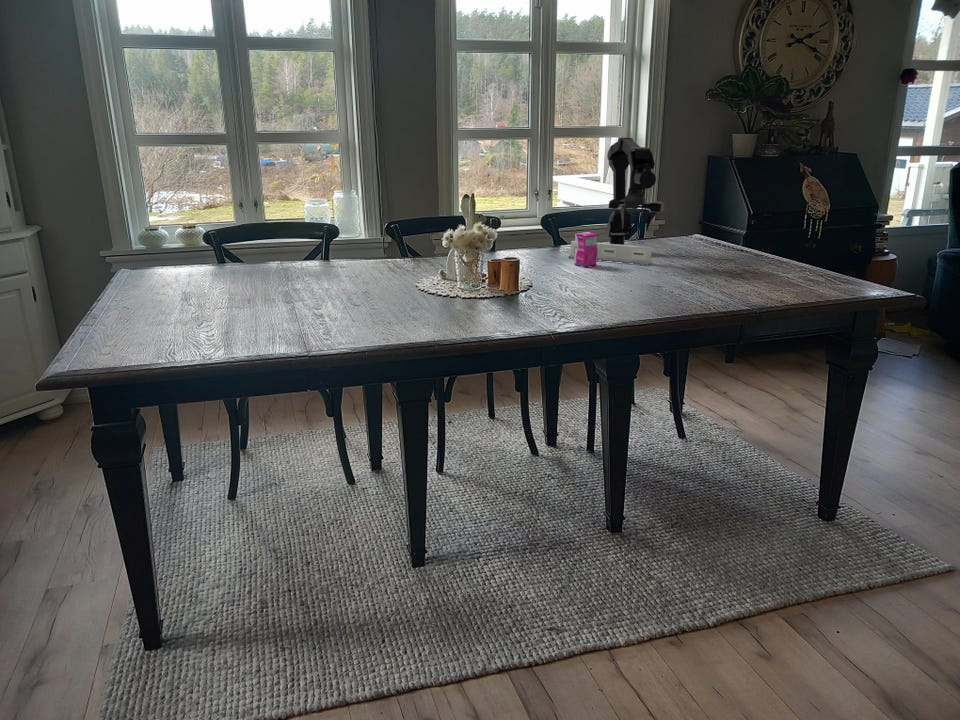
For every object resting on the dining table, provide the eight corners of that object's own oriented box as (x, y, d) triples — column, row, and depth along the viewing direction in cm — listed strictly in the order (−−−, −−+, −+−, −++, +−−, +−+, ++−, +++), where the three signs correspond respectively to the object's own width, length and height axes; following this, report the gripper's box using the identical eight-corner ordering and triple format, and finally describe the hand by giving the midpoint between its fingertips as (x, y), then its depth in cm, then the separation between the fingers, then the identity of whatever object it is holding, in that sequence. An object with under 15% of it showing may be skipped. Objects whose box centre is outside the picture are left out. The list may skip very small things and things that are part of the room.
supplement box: (573, 265, 258) (574, 233, 254) (586, 263, 261) (588, 231, 257) (583, 268, 253) (585, 235, 249) (596, 266, 256) (598, 233, 252)
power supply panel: (574, 255, 274) (574, 240, 272) (652, 262, 261) (653, 246, 259) (568, 258, 269) (569, 242, 267) (647, 265, 256) (648, 249, 254)
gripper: (605, 186, 250) (602, 230, 256) (658, 189, 242) (654, 235, 248) (614, 182, 260) (611, 226, 265) (666, 185, 252) (662, 230, 257)
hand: (634, 229), depth 259 cm, fingers open, 9 cm apart
